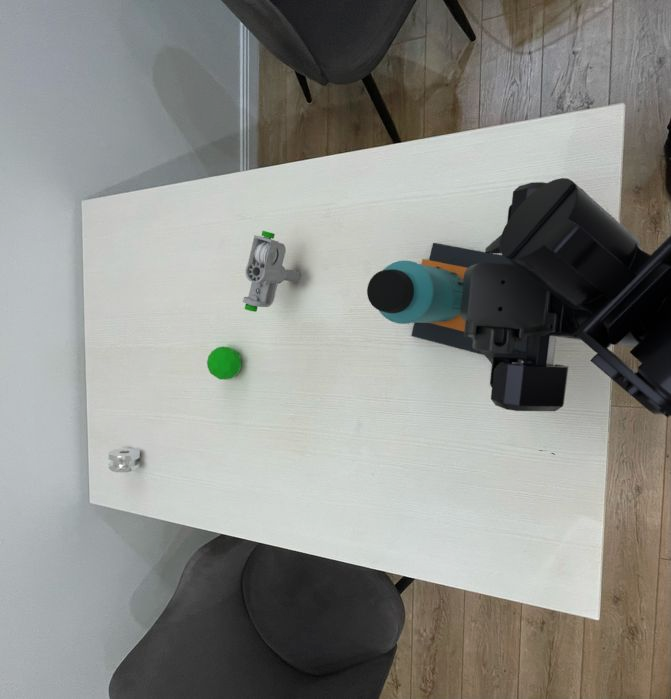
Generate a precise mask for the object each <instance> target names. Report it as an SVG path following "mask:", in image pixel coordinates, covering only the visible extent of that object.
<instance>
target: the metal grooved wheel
mask: <svg viewBox="0 0 671 699" xmlns="http://www.w3.org/2000/svg"><path fill="white" fill-rule="evenodd" d="M140 458H141V450H140V449H138V448H134V447H122V448H116V449H111V450H110V451H109V452H108V460H109V461H110V462H108V469H109V471H111V472H114V473H120V474H121V473H130V472H134V471H137V470H138V469H139V468H140V467H141V461H140V460H138V459H140Z"/></svg>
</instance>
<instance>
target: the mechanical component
mask: <svg viewBox="0 0 671 699" xmlns="http://www.w3.org/2000/svg"><path fill="white" fill-rule="evenodd" d="M275 235H276V234H275V233H273V232H270V231H266V230H262V231H261V235H256V234H254V236H253V240H252V244H251V249H250V254H249V258H248V262H247V263H246V264H247V265H246V266H245V277H246V278H247V281H249V282H251V284H250V288H249V292H248V296H243V300H242V302H243V303H244V304H245V305H244V310H246V311H249V312H255V313H256V312H258V307H259V308H269V307H270V306H271V305H272V304H273V303H274V301H275V297H276V292H277V288H278V285H279V284H280V285H281V284H282V283H284V282H293V283H296V282H299V281H300V280H301V278H302V275H301V273H300V272H299V271H297V270H293V269H286V268H285V266H283V264H284V259H285V255H286V246H285V244H284V243H282V242H279V240H274V239H275Z"/></svg>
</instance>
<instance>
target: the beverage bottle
mask: <svg viewBox="0 0 671 699" xmlns="http://www.w3.org/2000/svg"><path fill="white" fill-rule="evenodd" d="M424 264H425V263H424ZM435 267H436V266H435ZM435 267H431V266H427V265H423V263H422V262H421V263H418V262H416V261H412V260H398V261H395V262H392V263H390V264H388V265H387V266H386V267H385V268H383V269H382V270H380V271H378V272H376V273H375V274H374V275H373V276H372V277H371V278H370V279H369V282H368V284H367V289H366V294H367V299H368V302H369V303H370V304H371V306H372V307H373V308H374V309H376V310H377V311H378V312H379V313H380V314H381V315H382V316H383V317H384V318H385V319H386V320H388V321H390V322H392V323H395V324H400V325H401V324H402V325H406V324H414V323H417V322H421V323H425V324H426V323H428V322H444V321H447V322H448V321H449V322H450V321H452V319H454V318H455V317H457V316H458V315H459V314H460V308H461V303H462V293H463V280H462V279H461V278H460V277H459V276H458V275H457V274H458V273H457V274H456V272H455V273H453V272H451V271H452V270H451V271H447V270H445V269H444V270H443V269H439V268H440V267H437V268H435ZM448 270H449V269H448ZM433 324H434V323H433Z"/></svg>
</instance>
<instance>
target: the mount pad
mask: <svg viewBox="0 0 671 699" xmlns="http://www.w3.org/2000/svg"><path fill="white" fill-rule="evenodd" d="M482 262H492V263H505V264H513V263H512V262H511V261H509V260H508V259H507V258H505V257H504V256H503V255H502V254H499V253H486V252H485V251H481V250H475V249H470V248H465V247H458V246H453V245H448V244H443V243H442V244H441V243H437V242H433V243H432V246H431V251H430V254H429V259H425V258H422V260H421V264H422V263H423V265H427V266H431V267H435V266H436V267H435V268H437V267H440V268H439V269H443V270H444V269H445V270H447V271H451V270H452V271H451V272H453V273H455V272H456V274H457V273H458V274H457V275H458V276H459V277H460V278H461V279H462V280H463V278H464V273H465V271H466V269H467V268H468V267H470V266H472V265H475V264H479V263H482ZM424 263H425V264H424ZM448 269H449V270H448ZM433 323H434V324H433ZM464 329H465V321H464V320H463V319H462V318H461V315H460V314H459V315H458V316H457V317H455V318H454V319H452V321H450V322H449V321H448V322H447V321H444V322H428V323H426V324H425V323H421V322H417V323H413V326H412V332H411V334H410V335H411V337H414V338H418V339H422V340H425V341H429V342H432V343H435V344H440V345H444V346H448V347H452V348H455V349H459V350H463V351H467V352H470V353H473V354H478V355H482V356H485V355H484V354H483V353H482V352H481V351H479V350H475V349H473V347H472V344H473V339H472V338H468V337H464ZM526 340H527V336H526V335H524V338H523V342H515V343H514V346H513V349H517V350H520V351H523V352H525V349H526Z"/></svg>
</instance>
